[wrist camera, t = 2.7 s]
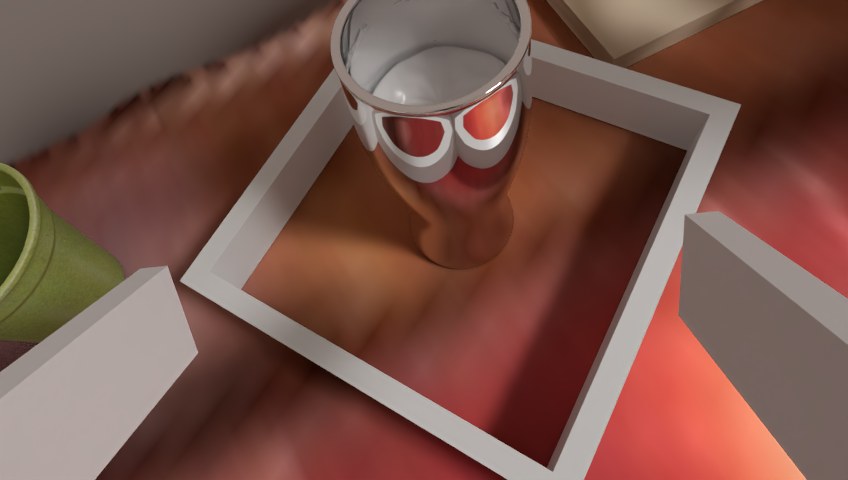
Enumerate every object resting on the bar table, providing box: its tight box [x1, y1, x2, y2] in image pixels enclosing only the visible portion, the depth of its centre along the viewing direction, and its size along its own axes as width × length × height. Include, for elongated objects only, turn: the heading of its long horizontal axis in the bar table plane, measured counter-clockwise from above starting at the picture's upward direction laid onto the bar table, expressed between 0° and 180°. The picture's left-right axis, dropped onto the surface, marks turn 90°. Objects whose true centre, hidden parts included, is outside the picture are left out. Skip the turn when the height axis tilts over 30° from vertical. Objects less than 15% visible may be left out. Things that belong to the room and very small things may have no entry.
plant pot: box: [0, 163, 124, 343], centre depth 28 cm, size 9×9×9 cm
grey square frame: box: [180, 39, 741, 480], centre depth 28 cm, size 22×22×4 cm
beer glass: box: [330, 0, 532, 269], centre depth 23 cm, size 7×7×15 cm
